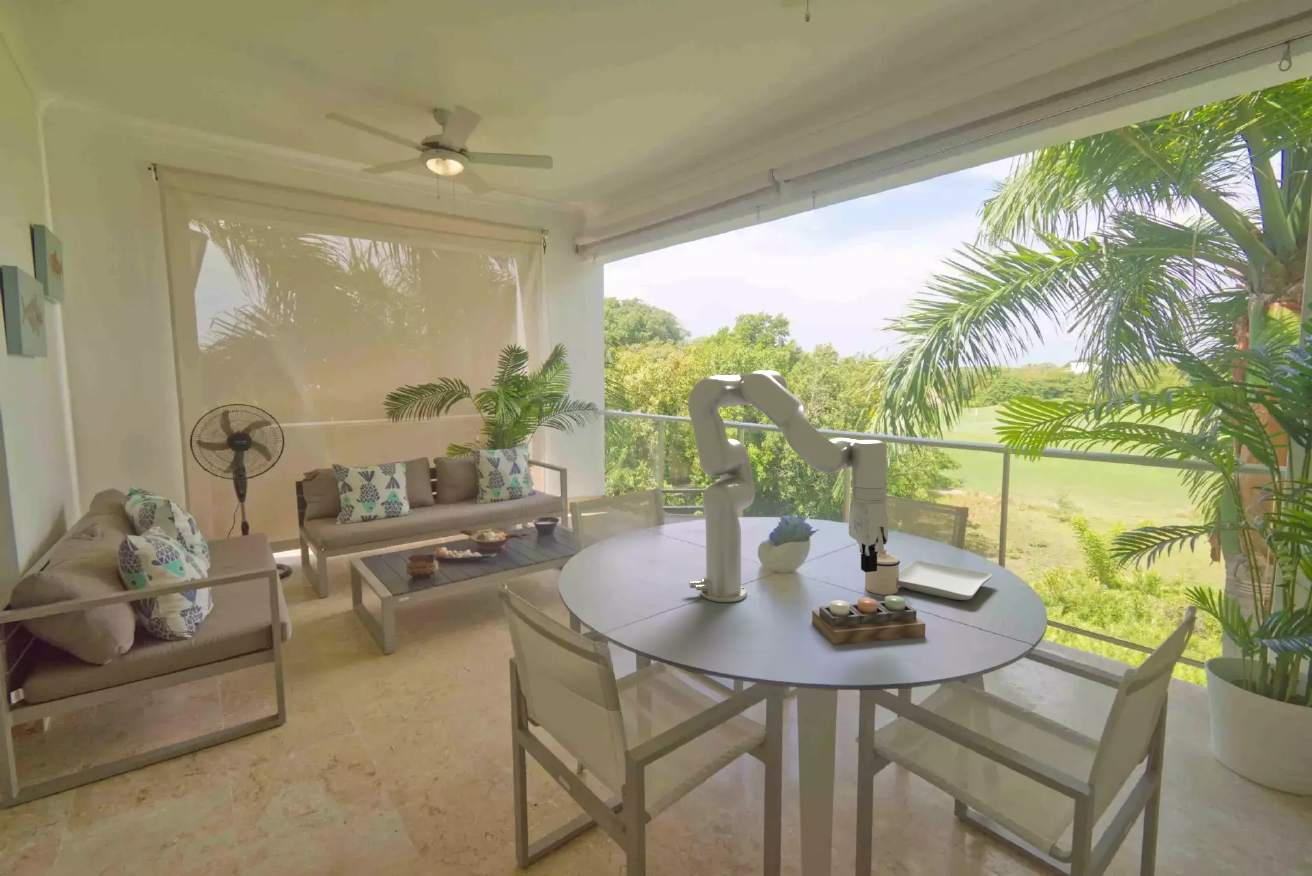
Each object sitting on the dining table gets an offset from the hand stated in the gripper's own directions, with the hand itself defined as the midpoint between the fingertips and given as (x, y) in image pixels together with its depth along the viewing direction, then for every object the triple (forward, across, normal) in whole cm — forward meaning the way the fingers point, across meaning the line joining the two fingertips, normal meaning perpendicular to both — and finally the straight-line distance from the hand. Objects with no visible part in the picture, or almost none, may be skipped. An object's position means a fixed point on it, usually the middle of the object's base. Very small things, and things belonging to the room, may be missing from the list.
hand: (869, 570), depth 137 cm
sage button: (+10, 0, +6) cm, 12 cm away
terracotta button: (+10, 0, -1) cm, 10 cm away
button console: (+14, 0, -1) cm, 14 cm away
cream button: (+10, 0, -8) cm, 12 cm away
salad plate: (+15, -20, +34) cm, 42 cm away
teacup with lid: (+14, -24, +17) cm, 32 cm away
